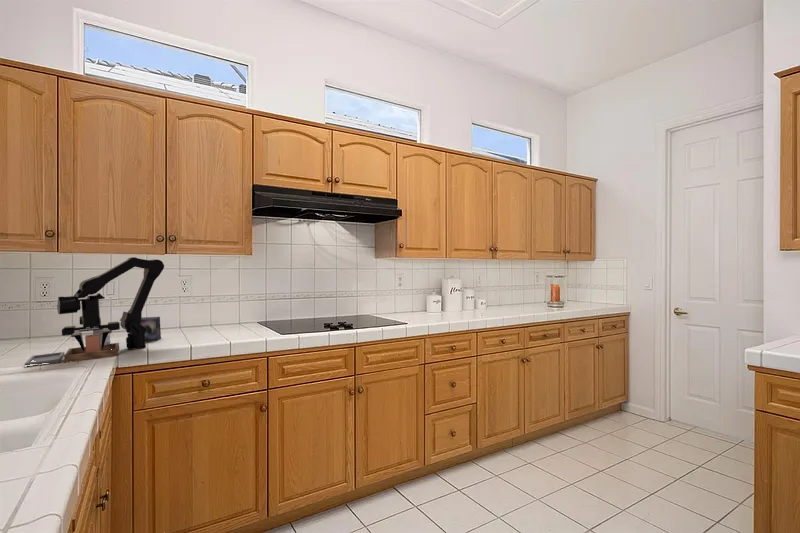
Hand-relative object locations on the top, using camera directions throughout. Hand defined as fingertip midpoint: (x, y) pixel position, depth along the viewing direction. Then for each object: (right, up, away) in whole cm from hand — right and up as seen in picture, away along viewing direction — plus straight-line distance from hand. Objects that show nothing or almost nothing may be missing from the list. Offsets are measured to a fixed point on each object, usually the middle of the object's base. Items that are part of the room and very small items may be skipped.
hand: (93, 349), depth 173 cm
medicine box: (-8, -2, +17) cm, 19 cm away
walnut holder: (0, -2, 0) cm, 2 cm away
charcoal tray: (-13, -3, -8) cm, 15 cm away
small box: (+6, -1, +26) cm, 27 cm away
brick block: (0, -2, 0) cm, 2 cm away
